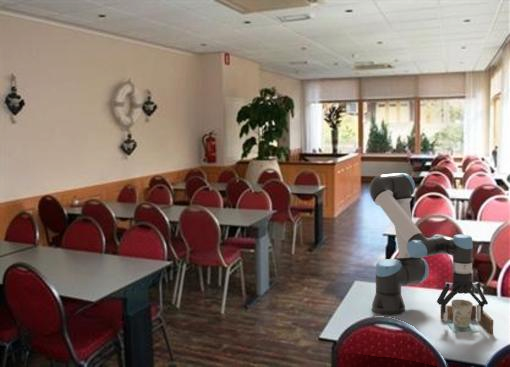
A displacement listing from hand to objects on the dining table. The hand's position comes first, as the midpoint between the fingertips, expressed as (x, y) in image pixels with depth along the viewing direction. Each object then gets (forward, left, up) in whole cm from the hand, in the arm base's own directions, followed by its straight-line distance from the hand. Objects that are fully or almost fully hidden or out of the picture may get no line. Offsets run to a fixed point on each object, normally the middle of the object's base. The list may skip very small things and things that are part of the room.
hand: (461, 320), depth 208 cm
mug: (-1, 0, -3) cm, 3 cm away
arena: (+2, +2, -3) cm, 4 cm away
